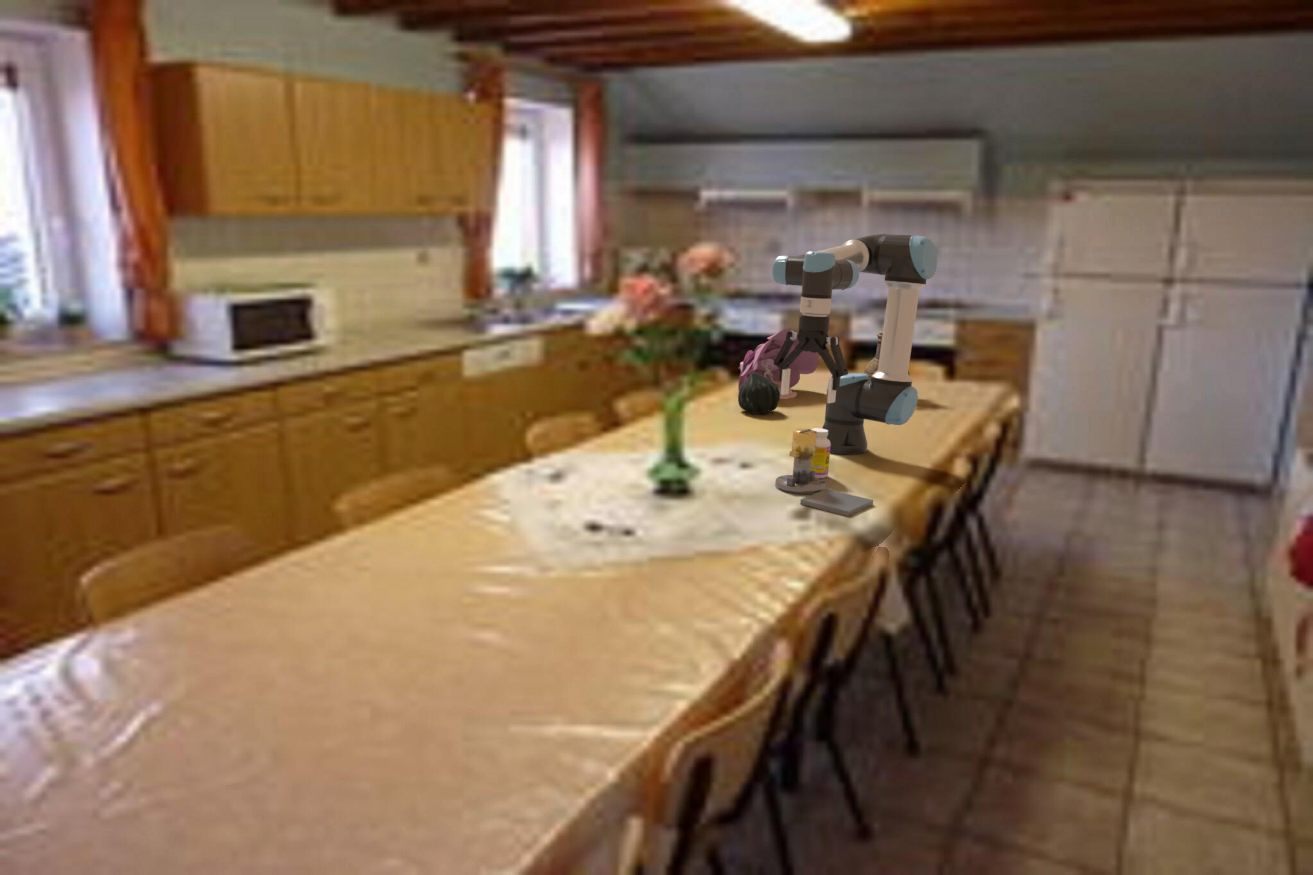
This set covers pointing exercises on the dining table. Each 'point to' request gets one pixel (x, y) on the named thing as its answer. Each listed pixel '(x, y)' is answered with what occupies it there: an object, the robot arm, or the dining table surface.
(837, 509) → the tile
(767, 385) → the squash
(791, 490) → the post
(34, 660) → the dining table surface
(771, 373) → the flower arrangement
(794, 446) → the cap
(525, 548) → the dining table surface
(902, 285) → the robot arm
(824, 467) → the supplement bottle
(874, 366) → the decorative pitcher
